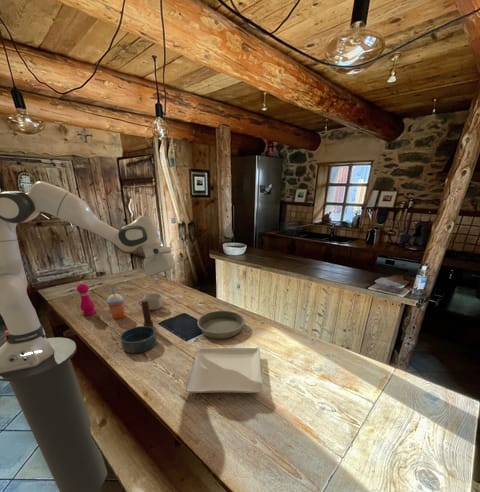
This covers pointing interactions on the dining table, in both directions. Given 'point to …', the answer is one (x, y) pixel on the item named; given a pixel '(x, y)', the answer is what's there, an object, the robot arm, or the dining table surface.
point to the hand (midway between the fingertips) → (163, 282)
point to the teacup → (153, 301)
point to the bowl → (138, 339)
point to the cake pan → (220, 324)
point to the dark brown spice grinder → (146, 313)
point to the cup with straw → (116, 305)
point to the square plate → (226, 371)
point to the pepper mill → (85, 299)
